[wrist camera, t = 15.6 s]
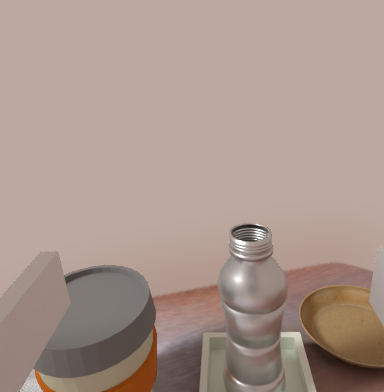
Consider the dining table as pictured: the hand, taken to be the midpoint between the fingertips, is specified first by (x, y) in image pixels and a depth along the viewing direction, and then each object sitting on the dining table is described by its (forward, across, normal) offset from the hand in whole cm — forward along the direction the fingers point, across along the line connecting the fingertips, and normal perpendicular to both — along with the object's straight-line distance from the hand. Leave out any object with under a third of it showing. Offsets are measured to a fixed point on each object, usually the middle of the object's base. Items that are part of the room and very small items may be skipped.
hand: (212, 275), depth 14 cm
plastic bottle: (+14, +3, -26) cm, 30 cm away
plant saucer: (+24, +18, -27) cm, 41 cm away
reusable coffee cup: (+13, -12, -28) cm, 33 cm away
